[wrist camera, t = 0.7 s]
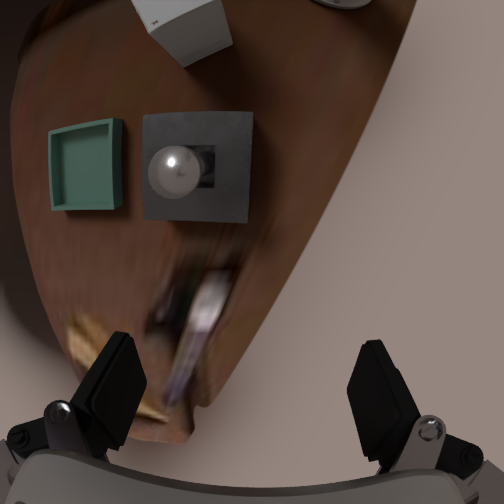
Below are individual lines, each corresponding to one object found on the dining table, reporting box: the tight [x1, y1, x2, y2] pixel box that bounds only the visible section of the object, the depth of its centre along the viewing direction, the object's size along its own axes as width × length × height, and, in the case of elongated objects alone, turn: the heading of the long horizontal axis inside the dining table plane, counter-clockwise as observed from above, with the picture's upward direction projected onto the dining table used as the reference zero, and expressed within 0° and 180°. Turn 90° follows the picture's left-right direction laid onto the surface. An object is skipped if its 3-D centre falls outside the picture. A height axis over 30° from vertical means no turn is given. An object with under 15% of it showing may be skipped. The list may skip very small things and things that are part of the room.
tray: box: [48, 118, 123, 210], centre depth 31 cm, size 12×12×3 cm
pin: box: [148, 146, 215, 199], centre depth 26 cm, size 4×4×12 cm
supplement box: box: [131, 0, 233, 68], centre depth 20 cm, size 7×7×13 cm
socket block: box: [142, 111, 254, 224], centre depth 30 cm, size 12×12×6 cm
